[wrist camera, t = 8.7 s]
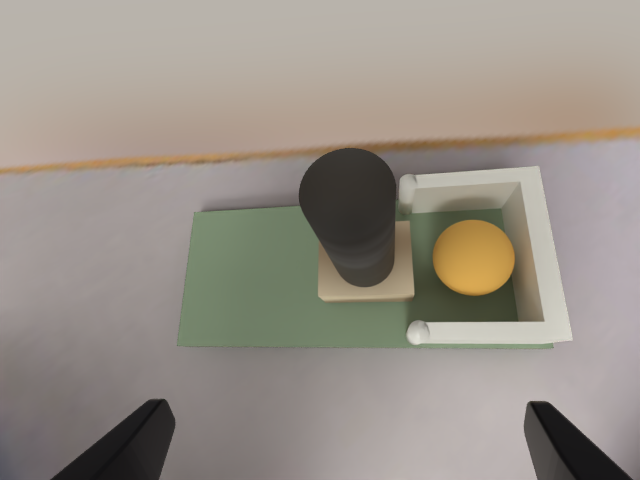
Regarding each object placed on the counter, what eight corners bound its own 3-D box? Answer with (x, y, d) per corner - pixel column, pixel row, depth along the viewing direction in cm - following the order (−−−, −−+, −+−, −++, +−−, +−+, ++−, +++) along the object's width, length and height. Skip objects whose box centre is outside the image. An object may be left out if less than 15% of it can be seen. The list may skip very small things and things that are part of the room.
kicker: (412, 301, 21) (429, 245, 11) (325, 302, 22) (269, 252, 12) (407, 235, 22) (420, 131, 12) (326, 238, 23) (276, 144, 13)
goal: (542, 346, 19) (573, 342, 16) (406, 345, 21) (408, 341, 17) (517, 193, 22) (538, 164, 19) (397, 201, 23) (398, 174, 20)
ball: (514, 263, 16) (422, 272, 18) (523, 307, 19) (442, 311, 21) (505, 197, 18) (424, 211, 20) (514, 244, 21) (442, 253, 23)
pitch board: (546, 348, 20) (553, 348, 19) (185, 346, 24) (176, 345, 23) (520, 198, 23) (525, 191, 22) (201, 217, 27) (194, 212, 26)
